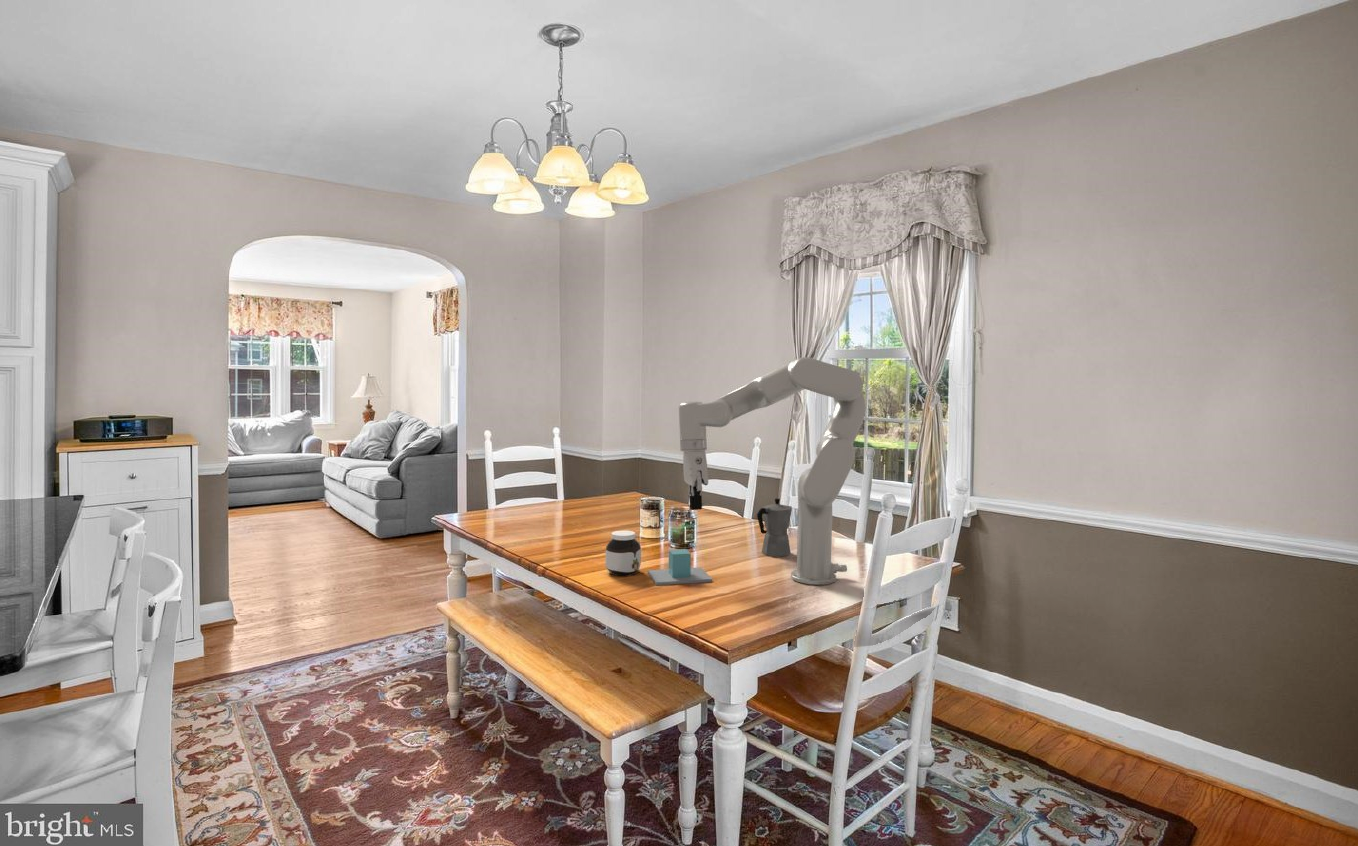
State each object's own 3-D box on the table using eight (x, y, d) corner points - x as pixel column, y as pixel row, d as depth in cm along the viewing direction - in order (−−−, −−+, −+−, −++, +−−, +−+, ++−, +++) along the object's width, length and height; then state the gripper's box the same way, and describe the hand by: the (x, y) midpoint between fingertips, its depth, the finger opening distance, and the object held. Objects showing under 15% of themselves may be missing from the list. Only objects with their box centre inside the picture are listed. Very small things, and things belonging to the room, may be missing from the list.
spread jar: (619, 578, 197) (619, 538, 197) (593, 570, 205) (593, 531, 204) (649, 570, 206) (650, 531, 205) (623, 563, 214) (623, 525, 213)
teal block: (686, 571, 203) (686, 548, 202) (690, 576, 197) (690, 553, 197) (668, 572, 201) (668, 549, 201) (672, 577, 196) (672, 554, 196)
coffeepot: (779, 547, 235) (780, 494, 234) (800, 553, 228) (802, 498, 226) (746, 554, 225) (747, 499, 224) (767, 561, 218) (769, 503, 217)
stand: (700, 569, 207) (701, 550, 207) (712, 581, 196) (712, 561, 195) (647, 572, 203) (647, 553, 203) (656, 585, 192) (656, 564, 191)
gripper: (713, 446, 193) (716, 512, 194) (698, 442, 207) (701, 503, 209) (687, 448, 191) (690, 515, 192) (674, 443, 206) (676, 505, 207)
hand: (695, 509), depth 201 cm, fingers closed
